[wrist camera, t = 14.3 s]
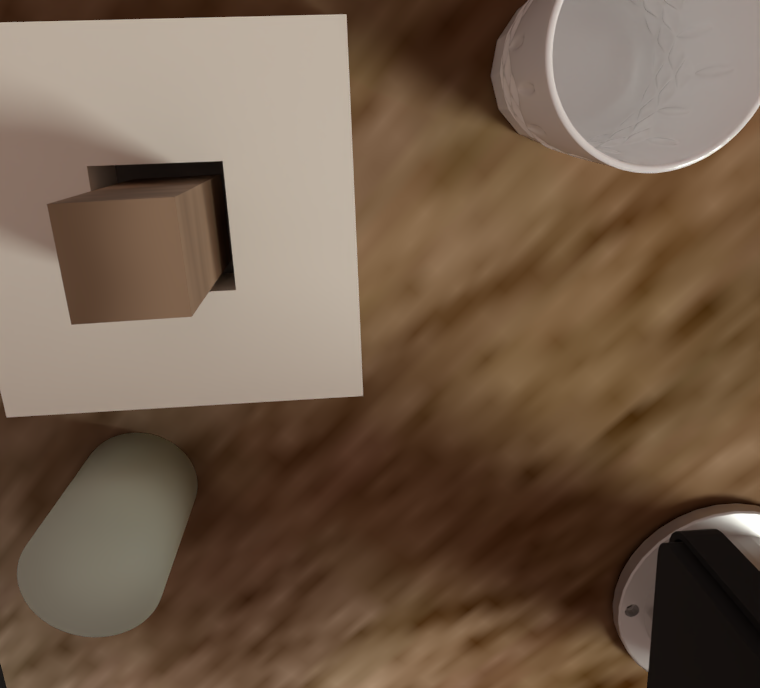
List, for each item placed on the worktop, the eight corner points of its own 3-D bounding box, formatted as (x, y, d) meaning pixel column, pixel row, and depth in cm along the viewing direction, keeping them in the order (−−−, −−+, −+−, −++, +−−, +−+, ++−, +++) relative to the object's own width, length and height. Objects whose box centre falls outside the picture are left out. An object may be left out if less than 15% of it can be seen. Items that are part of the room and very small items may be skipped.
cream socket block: (343, 28, 30) (346, 14, 26) (359, 366, 35) (363, 396, 31) (-30, 37, 29) (-84, 24, 25) (42, 384, 34) (6, 417, 30)
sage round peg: (190, 429, 35) (153, 513, 28) (203, 527, 37) (172, 631, 29) (73, 436, 35) (3, 523, 27) (93, 535, 37) (32, 642, 29)
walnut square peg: (220, 174, 31) (174, 197, 21) (231, 259, 32) (191, 316, 23) (132, 179, 31) (46, 204, 21) (146, 264, 32) (71, 324, 22)
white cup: (451, 121, 31) (506, 121, 22) (521, -56, 29) (615, -142, 20) (597, 182, 33) (708, 207, 23) (674, 17, 31) (830, -30, 21)
